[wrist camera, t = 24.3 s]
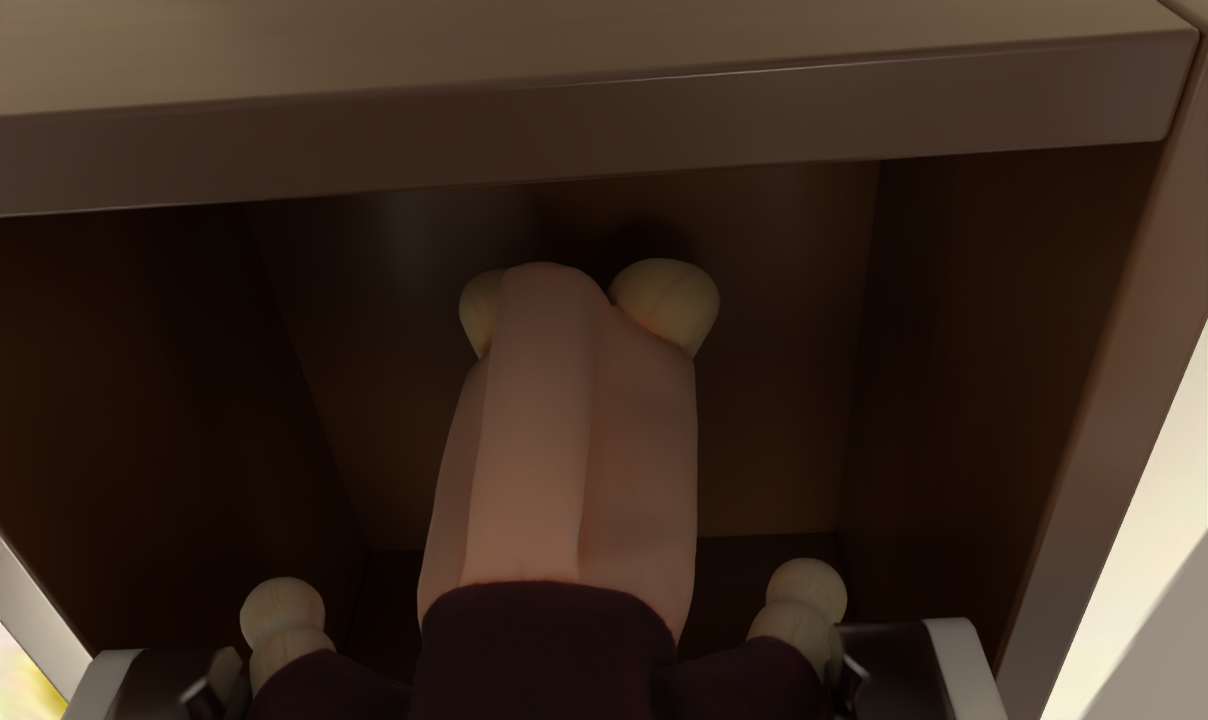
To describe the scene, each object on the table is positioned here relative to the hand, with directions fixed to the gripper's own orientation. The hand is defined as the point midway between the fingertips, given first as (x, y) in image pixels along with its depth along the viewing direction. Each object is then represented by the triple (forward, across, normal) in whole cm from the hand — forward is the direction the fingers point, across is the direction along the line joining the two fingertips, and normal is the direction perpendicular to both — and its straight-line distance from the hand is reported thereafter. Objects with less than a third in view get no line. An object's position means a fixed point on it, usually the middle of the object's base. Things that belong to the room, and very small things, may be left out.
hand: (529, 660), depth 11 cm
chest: (+9, 0, +1) cm, 9 cm away
